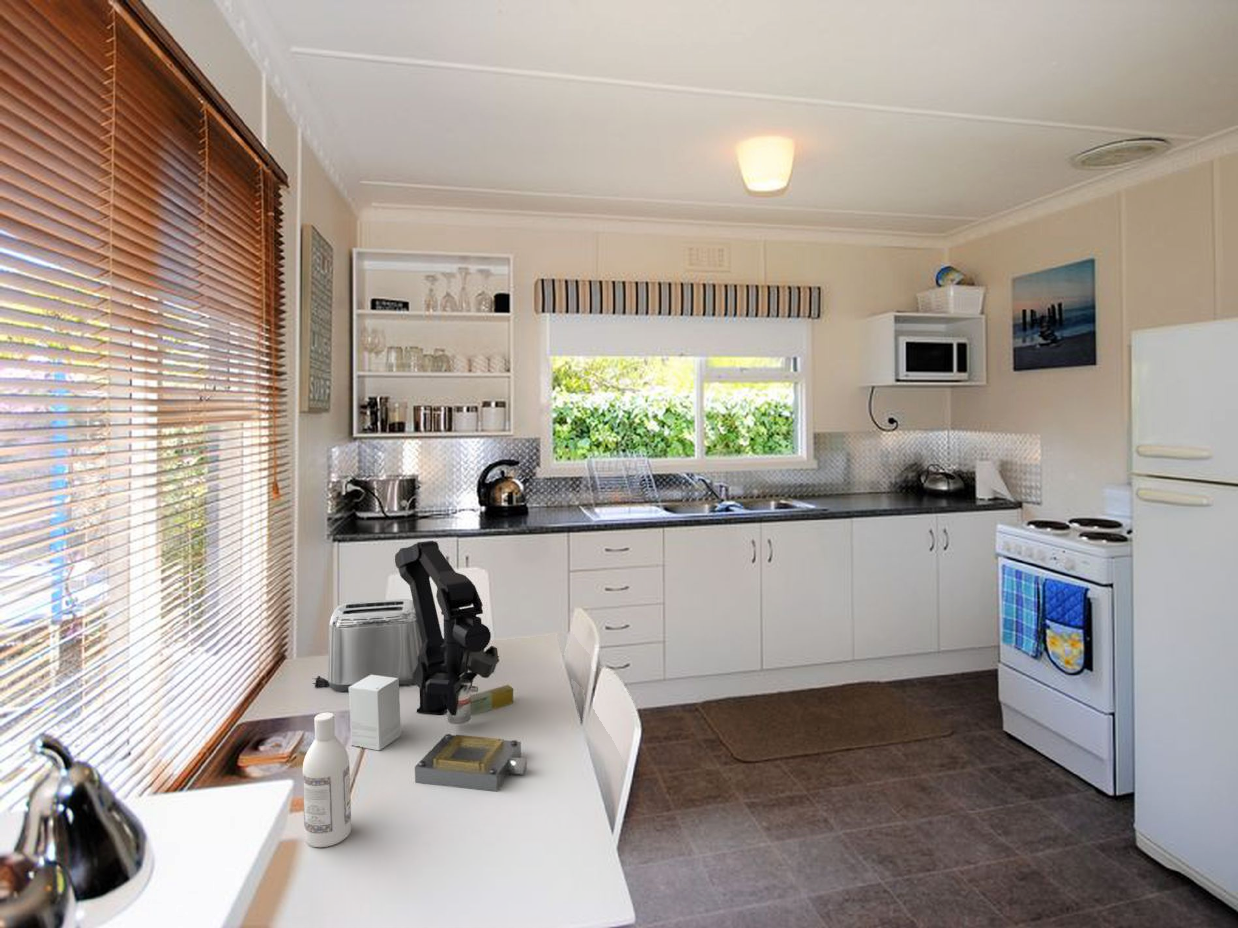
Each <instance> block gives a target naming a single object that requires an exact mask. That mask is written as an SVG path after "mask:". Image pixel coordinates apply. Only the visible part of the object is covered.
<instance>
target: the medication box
mask: <svg viewBox="0 0 1238 928" xmlns="http://www.w3.org/2000/svg"><path fill="white" fill-rule="evenodd" d="M513 703H515V701H514V687H512V686H511V685H509V684H506V685H503V686H498V687H496V688H493V689H489V690H485V691H481V692H476V693H474V694H471V717H472V716H473V715H474V716H475V715H478V714H481V713H486V712H488V711H491V710H493V709H498V708H501V707H505V706H507V705H510V704H513Z"/></svg>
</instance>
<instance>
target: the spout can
mask: <svg viewBox="0 0 1238 928" xmlns="http://www.w3.org/2000/svg"><path fill="white" fill-rule="evenodd" d="M461 685H465V687H464V688H463V689H462V690H461V691H460V692H459V698H458V707H457V714H456V715H455V716H454V715H451V714H450V712H449V711H448V709H447V713H446V716H447V718H446V719H447V723H448V724H451V725H462V724H466V723H468V722H470V721H471V719H472V716H471V695H472V692H473V693H478V692H479V686H478V685H472V686H471V683H470V680H468V679H461Z"/></svg>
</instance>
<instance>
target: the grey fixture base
mask: <svg viewBox="0 0 1238 928" xmlns="http://www.w3.org/2000/svg"><path fill="white" fill-rule="evenodd" d="M521 742H522V741H518V740H508V739H507V740H506V739H504V738H496V737H495V738H494V737H487V736H486V737H485V736H474V735H465V734H455V735H453V734H452V733H451V734H450V733H447V734H445V735H444V736H443V737H442V738H441V739H440V740H439V741H438V742H437V743H436V744H435V745H434V746H433V748H432V749H430V751H429V752H428V753H427V754H425V755H424V757H423V758H422V759H421V760H420V761H419V762H418V763H417V764H416V765H415V766H414V783H417V784H425V785H426V784H427V785H435V786H443V787H444V786H445V787H453V788H462V789H463V788H464V789H471V790H477V791H479V790H480V791H488V792H489V791H490V792H498V790H499V789H500V788H501V786H503V783H505V780H507V778H508V776H509V774H513V775H514V774H515V775H523V776H524V775H525V774H526V770H527V766H528V761H527V758H525V757H524V758H523V757H522V743H521Z"/></svg>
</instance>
